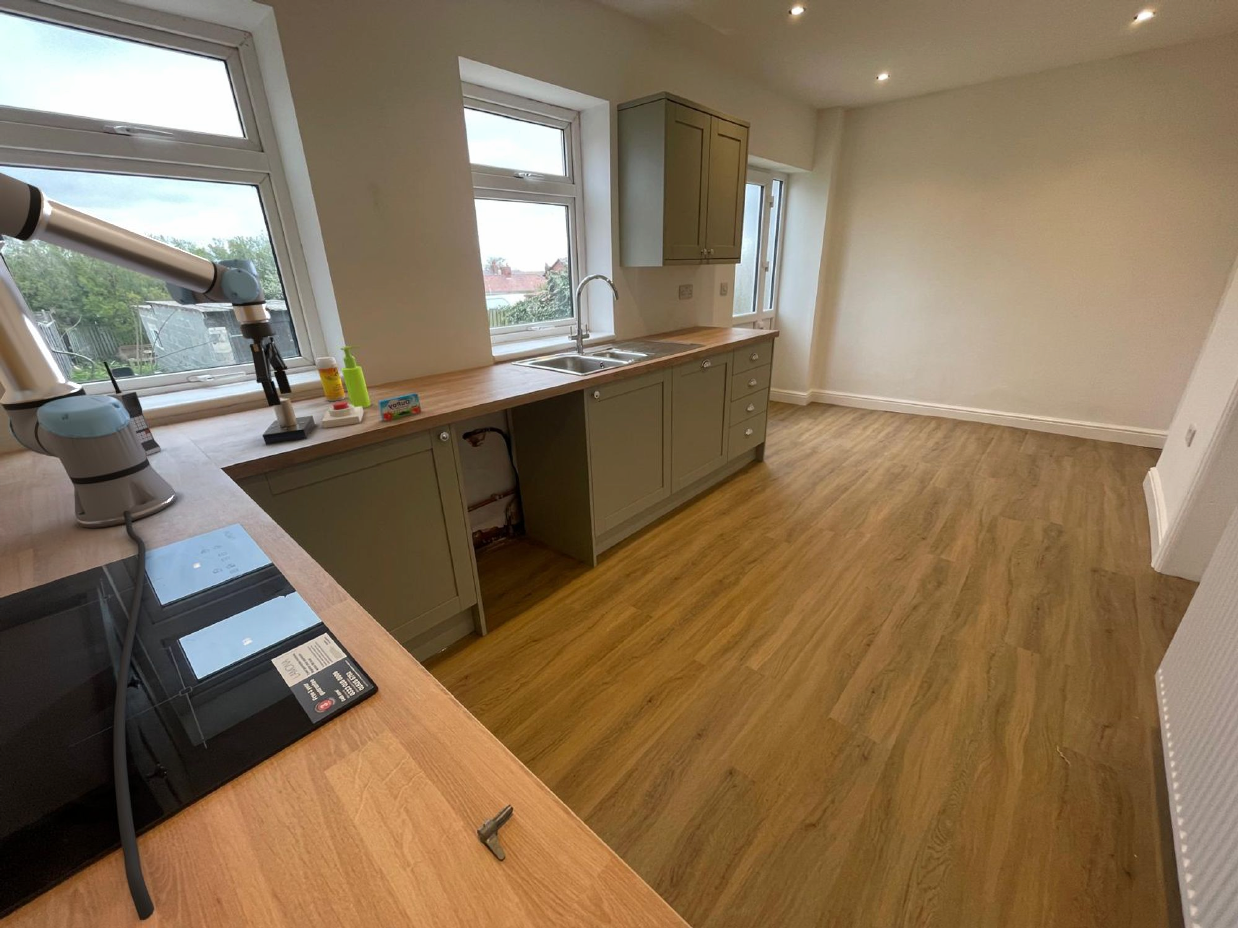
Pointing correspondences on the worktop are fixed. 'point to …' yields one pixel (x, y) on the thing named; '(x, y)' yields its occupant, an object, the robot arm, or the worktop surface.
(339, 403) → the power button
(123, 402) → the vintage mobile phone
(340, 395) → the yellow bottle
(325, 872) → the worktop surface
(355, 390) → the soap dispenser
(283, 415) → the beige upright cylinder
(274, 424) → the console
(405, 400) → the yogurt
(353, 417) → the switch block
